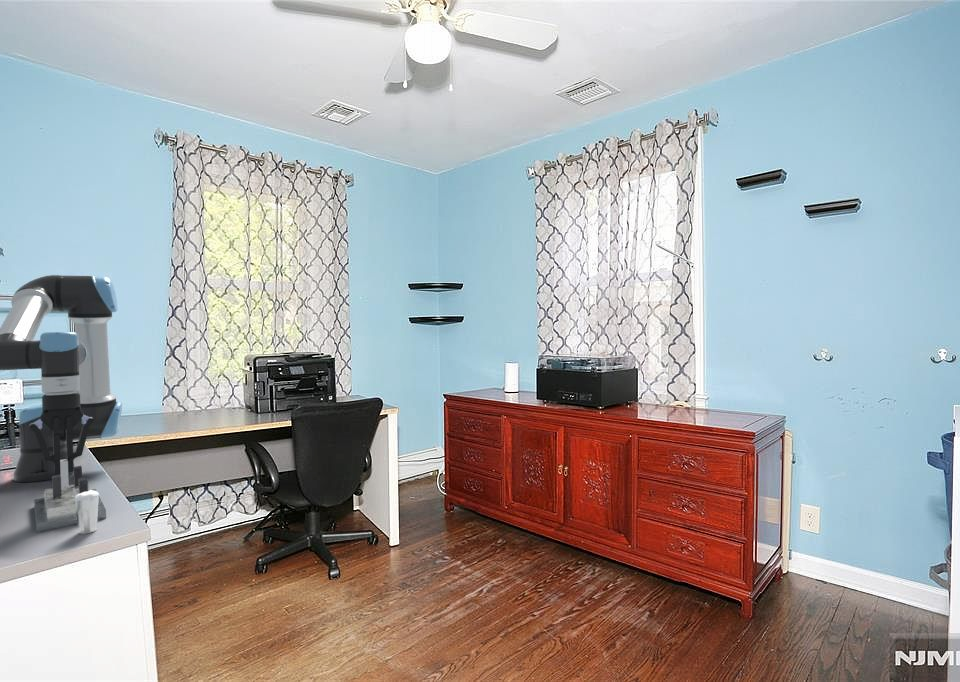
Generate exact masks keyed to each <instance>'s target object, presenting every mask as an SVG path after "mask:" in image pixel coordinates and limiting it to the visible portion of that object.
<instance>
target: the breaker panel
mask: <svg viewBox="0 0 960 682" xmlns="http://www.w3.org/2000/svg"><path fill="white" fill-rule="evenodd" d="M88 482H89V481H88V477H83V467H82V465H77V466H75V467H74V473H73V483H74V484H69V487H63V488H61V496H59V497H53V488H45V489H44V490H43V497H42V498H35V499H34V502H33V503H34V505H33V506H34V518H35V529H36V533H39V532H43V531H44V532H45V531H49V530H54V529H60V528H64V527H68V526H69V527H70V526H73V525H78V522H77V514H76V507H75V501H74V497H75V496H76V495H75V493H74V491H73V488H75V491H76V493H77V495H78V494H80V493H83V492H87V491H90V490H93V491H97V489H96V488H93V489H90V488H89V483H88ZM103 519H107V509H106V507H105V505H104V503H103V501H102V499H101V497H100V496H99V502H98V518H97V521H99V520H103Z"/></svg>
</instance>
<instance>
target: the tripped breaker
mask: <svg viewBox="0 0 960 682" xmlns="http://www.w3.org/2000/svg"><path fill="white" fill-rule="evenodd" d="M51 482H52V485H51V486H52V488H53V497H59V496H61V476H60V475H56V476H52V479H51Z"/></svg>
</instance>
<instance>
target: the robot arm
mask: <svg viewBox="0 0 960 682" xmlns="http://www.w3.org/2000/svg"><path fill="white" fill-rule="evenodd" d="M10 304H11V306H12V307H11V308H10V310H9V312H8V313H7V315H6V317H5V319H4V321H3V322H2V324H1V326H0V371H16V370H17V371H18V370H19V371H20V370H39V369H40V370H41V375H40V376H41V377H40V379H41V393H42V394H43V395H42V396H41V404H38V405H32V406H28V407H25V408H23V409H21V410H20V412H19V416H18V417H19V418H18V420H19V421H18V428H19V451H20V452H19V453H20V454H19V455H20V456H19V459H18V460H17V464H16V467H15V470H14V472H13V481H14V482H18V483H30V482H31V483H32V482H42V481H49V480H52V476H56V475H60V476H61V488H63V487H69V485H70V484H69V483H70V481H69V475H73V474H74V467H76V466H75V464H74V460H75V459H76V458H78V457H81V456H82V455H83V453H84V447H85V444H86V441H87V440H95V439H99V440H100V439H101V440H102V439H103V438H111V437H114V436H115V437H116V435H117V434H118V433H119V429H120V425H121V420H122V411H123V410H122V408H123V407H122V406H123V403H122V402H120V401H117V396H116V395H114V394H113V393H112V392H111V382H110V381H111V380H110V361H109V360H110V359H109V356H110V355H109V343H108V341H109V338H108V336H109V335H108V322H109V321H110V320H111V319H112V318H113V313H116V312H117V311H118V302H117V296H116V292H115V288H114V284H113V282H112V280H111V279H110V278H109V277H107V276H98V275H97V276H96V275H58V274H52V275H51V274H49V275H44V276H41V277H38V278H35V279H33V280H30V281H28V282H27V283H25V284H23V285H21V286H20V287H19V288H18V289H17V290H16V291H15V292H14V294H13V296H12V298H11V303H10ZM52 312H53V313H54V312H57V313H59V312H60V313H67V317H68V319H69V320H71V322H73V323H74V324H73V325H74V331H51V332H50V331H49V332H45V331H44V332H42V333H41V334H40V336H39V338H40V339H38V340H36V339H35V340H34V338H35V336H36V335H37V333H38V330H39V328H40V326H41V324H42V321H43V319H44V317H45V316H48V315H49V314H50V313H52ZM74 441H78V443H77V445H76V450H75V451H74Z"/></svg>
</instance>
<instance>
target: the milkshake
mask: <svg viewBox="0 0 960 682" xmlns="http://www.w3.org/2000/svg"><path fill="white" fill-rule="evenodd" d="M73 491H74V493H75V495H76V496H75V497H74V501H75V507H76V514H77V522H78V524H77V527H78V528H77V531H78V533H79V534H80V535H87V534H92V533H93V532H96V531H97V530H98V520H97V518H98V502H99V497H100V493H99V492H98V491H97V490H96V491H93V490H92V489H90V491H87V492H83V493H80V494H78V495H77V493H76V491H75V488H73Z"/></svg>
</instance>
